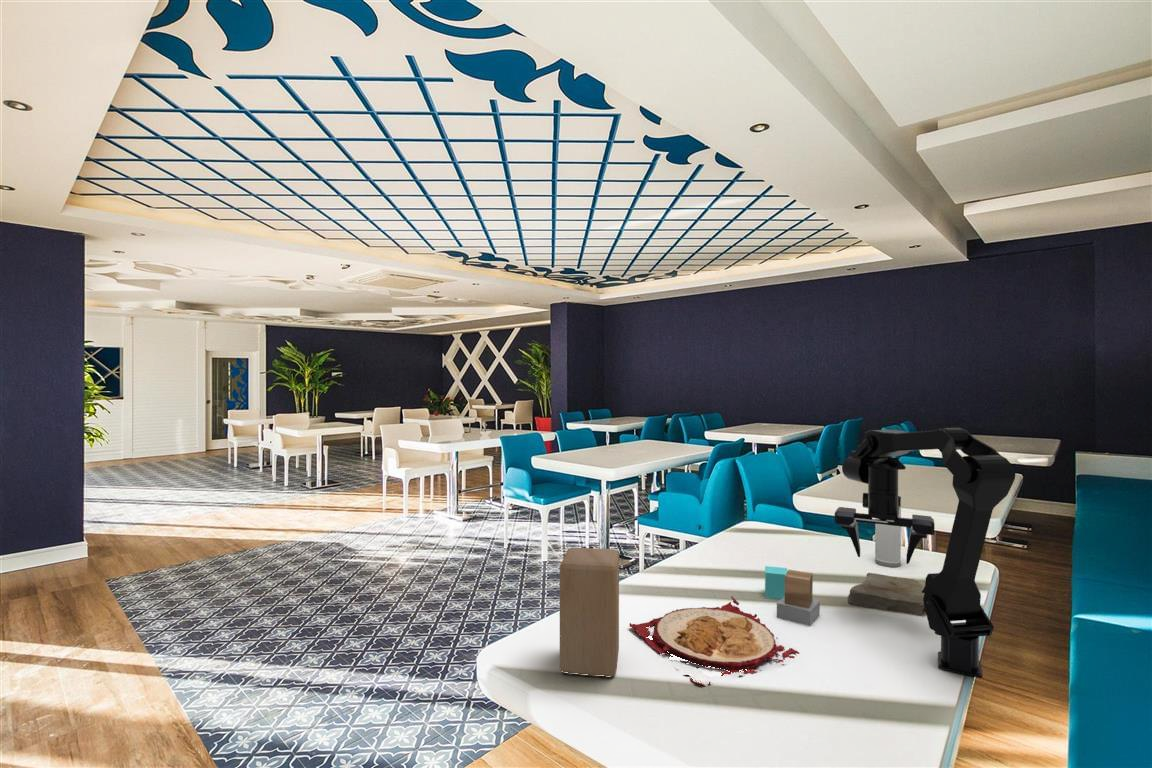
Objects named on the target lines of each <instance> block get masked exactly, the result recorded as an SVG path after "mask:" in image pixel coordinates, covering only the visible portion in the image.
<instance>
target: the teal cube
mask: <svg viewBox="0 0 1152 768" xmlns="http://www.w3.org/2000/svg"><path fill="white" fill-rule="evenodd" d="M787 572H788V569H787V567H781V566H780V567H778V566H771V565H770V566H768V565H765V566H764V594H765V596H764V597H765V598H766V599H773V600H775V599H776V600H781V599H782V598H783V597H784V596H785V575H786V573H787Z"/></svg>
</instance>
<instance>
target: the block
mask: <svg viewBox="0 0 1152 768" xmlns="http://www.w3.org/2000/svg"><path fill="white" fill-rule="evenodd" d="M619 651H620V554H619V551H618V550H616V549H614V548H598V547H597V548H593V547H575V546H574V547H569V548H567V550H566V552H565V554H564V556H563V558H562V560H561V563H560V564H559V669H560V672H561V671H563V672H568V673H578V674H588V675H604V676H613V677H615V675H616V672H617V666H618V659H619Z"/></svg>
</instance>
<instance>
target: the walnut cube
mask: <svg viewBox="0 0 1152 768" xmlns="http://www.w3.org/2000/svg"><path fill="white" fill-rule="evenodd" d="M813 579H814V577H813V573H812V572H807V571H800V570H795V569H794V570H793V569H787V573H786V575H785V604H790V605H795V606H800V607H805V608H810V605H811V603H812V599H813V594H814V593H813V589H814V588H813V586H814V585H813Z"/></svg>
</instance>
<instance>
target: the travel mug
mask: <svg viewBox="0 0 1152 768" xmlns="http://www.w3.org/2000/svg"><path fill="white" fill-rule="evenodd" d="M898 504H899V516H898V517H901V518H902V509H901V508H902V497H901V496H900V495H898ZM874 519H876V520H880V519H878V518H874ZM886 521H888V520H886ZM892 522H894V521H892ZM874 524H875V523H874ZM874 526H875V529H874V530H875V531H874V532H875V535H874V536H875V537H874V538H875V539H874V540H875V541H874V545H875V546H874V550H875V551H874V561H875V563H876V564H877V565H879V566H883V567H886V568H898V567H900V566H902V565H901V563H902V560H901V559H902V558H901V557H902V555H901V553H902V552H901V549H902V545H901V543H902V540H901V539H902V527H901V526H892V525H884V524H875V525H874Z"/></svg>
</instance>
